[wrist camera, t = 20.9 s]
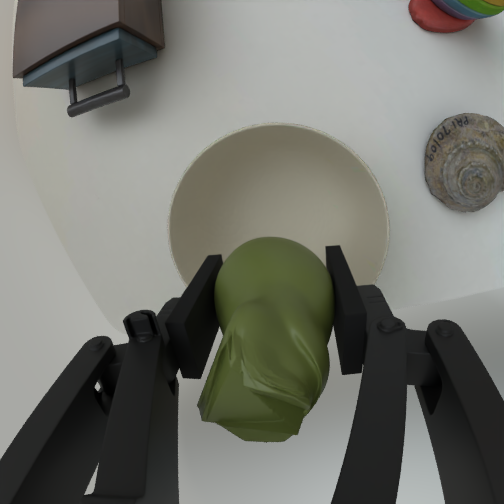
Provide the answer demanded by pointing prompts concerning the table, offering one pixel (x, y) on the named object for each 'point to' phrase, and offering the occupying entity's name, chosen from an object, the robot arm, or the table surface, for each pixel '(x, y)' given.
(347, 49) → the table surface
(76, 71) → the drawer
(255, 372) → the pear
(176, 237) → the bowl
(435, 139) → the fossilized seashell
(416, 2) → the stacking bear
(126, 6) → the cabinet
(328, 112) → the table surface
